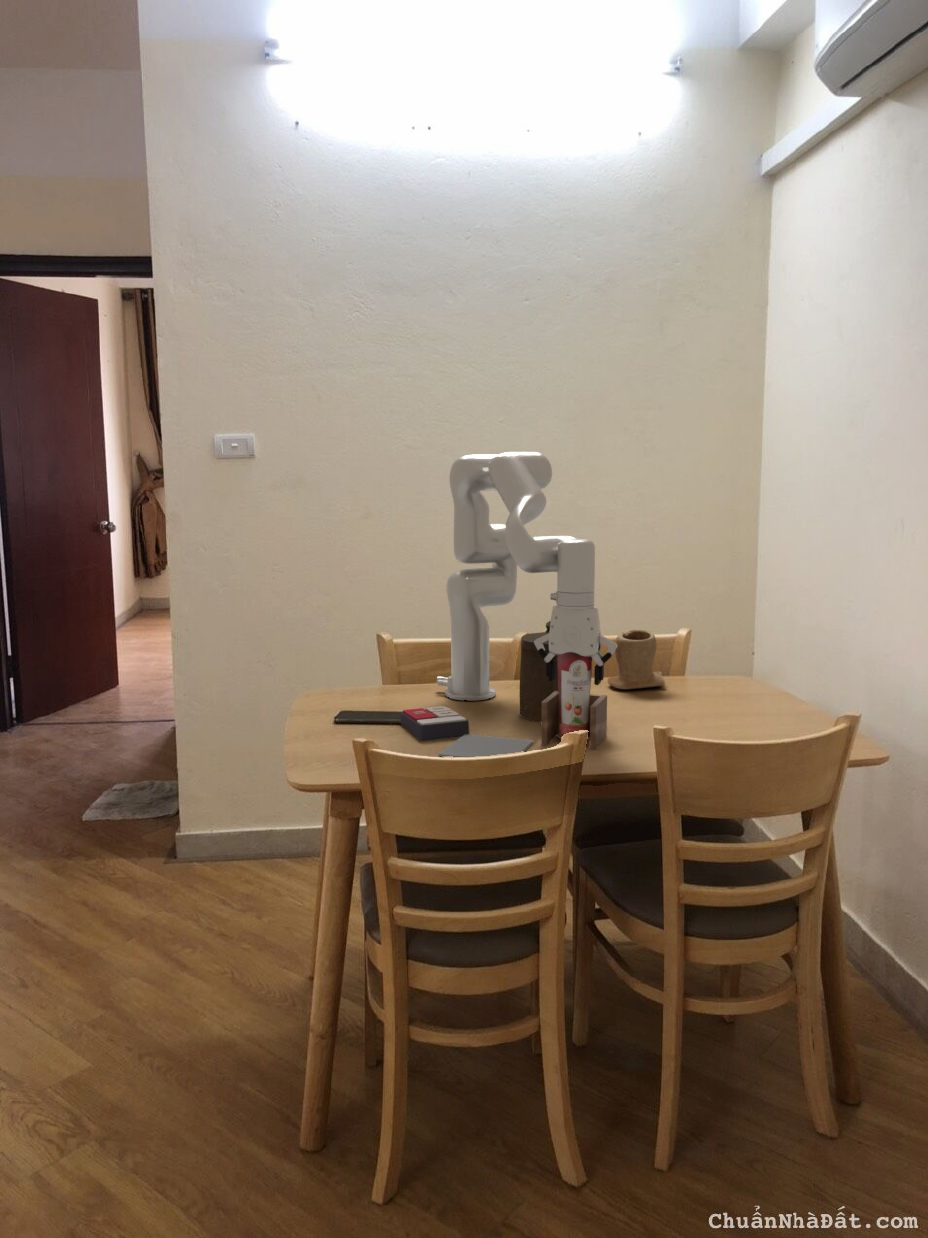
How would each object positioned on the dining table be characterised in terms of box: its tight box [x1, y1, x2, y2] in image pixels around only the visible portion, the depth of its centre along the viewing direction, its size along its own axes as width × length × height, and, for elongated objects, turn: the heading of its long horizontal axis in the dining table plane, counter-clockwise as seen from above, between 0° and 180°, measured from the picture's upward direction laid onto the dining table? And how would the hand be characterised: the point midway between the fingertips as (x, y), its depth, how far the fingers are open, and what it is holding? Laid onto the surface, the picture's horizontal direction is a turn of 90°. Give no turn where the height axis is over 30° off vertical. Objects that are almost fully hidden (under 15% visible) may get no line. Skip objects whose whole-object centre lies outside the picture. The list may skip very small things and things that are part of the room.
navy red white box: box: [400, 705, 470, 742], centre depth 210 cm, size 11×4×15 cm
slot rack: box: [540, 691, 608, 751], centre depth 201 cm, size 11×10×9 cm
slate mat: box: [438, 733, 534, 757], centre depth 195 cm, size 15×15×1 cm
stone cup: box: [606, 629, 666, 690], centre depth 246 cm, size 15×12×15 cm
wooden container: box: [519, 620, 558, 723], centre depth 220 cm, size 15×15×22 cm
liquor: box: [556, 652, 593, 740], centre depth 199 cm, size 7×7×28 cm
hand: (574, 681), depth 199 cm, fingers open, 9 cm apart
